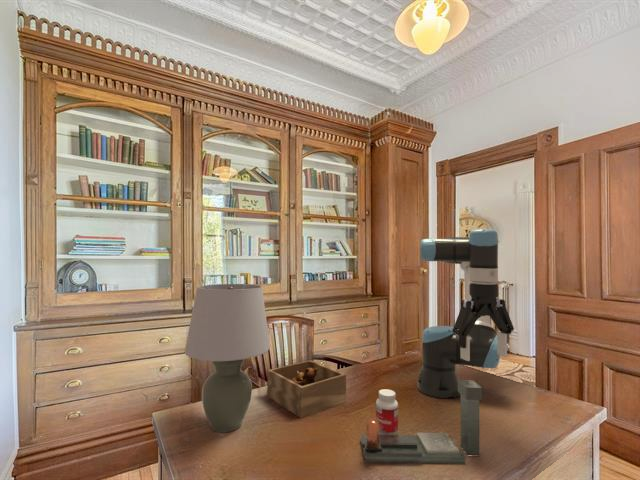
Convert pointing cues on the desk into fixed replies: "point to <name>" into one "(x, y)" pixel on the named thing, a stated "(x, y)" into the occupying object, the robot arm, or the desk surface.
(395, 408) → the pill bottle
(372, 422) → the lever
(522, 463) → the desk surface
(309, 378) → the bear figurine
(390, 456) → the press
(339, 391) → the bear crate
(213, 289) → the lamp
